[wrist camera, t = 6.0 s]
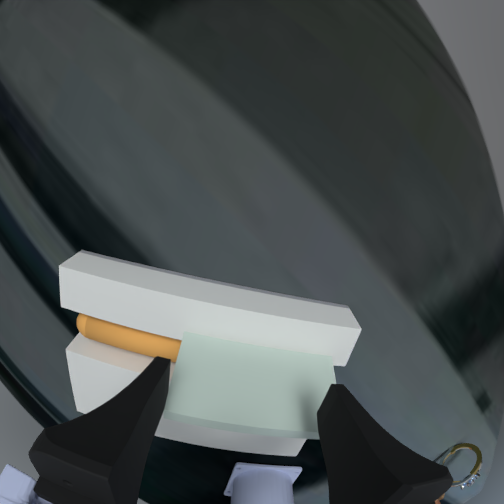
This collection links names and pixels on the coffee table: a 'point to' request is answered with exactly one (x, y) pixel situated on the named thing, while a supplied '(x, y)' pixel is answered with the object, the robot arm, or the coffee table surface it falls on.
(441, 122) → the coffee table surface
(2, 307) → the coffee table surface
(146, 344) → the orange rounded rod
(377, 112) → the coffee table surface
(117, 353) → the board
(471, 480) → the ring
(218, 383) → the cover
